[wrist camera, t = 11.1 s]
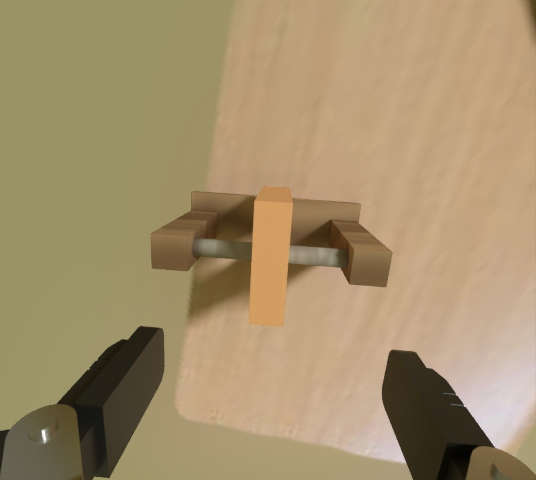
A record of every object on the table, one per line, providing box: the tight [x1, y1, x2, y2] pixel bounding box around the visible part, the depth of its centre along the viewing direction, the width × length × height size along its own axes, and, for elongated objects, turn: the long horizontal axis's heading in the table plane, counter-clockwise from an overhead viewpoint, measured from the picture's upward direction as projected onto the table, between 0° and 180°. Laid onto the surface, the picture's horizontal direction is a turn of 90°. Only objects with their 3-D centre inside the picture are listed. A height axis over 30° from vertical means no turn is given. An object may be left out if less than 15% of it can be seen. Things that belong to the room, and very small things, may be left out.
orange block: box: [249, 186, 293, 327], centre depth 29 cm, size 10×3×12 cm, turn 177°
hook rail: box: [151, 191, 392, 287], centre depth 31 cm, size 7×20×14 cm, turn 86°
